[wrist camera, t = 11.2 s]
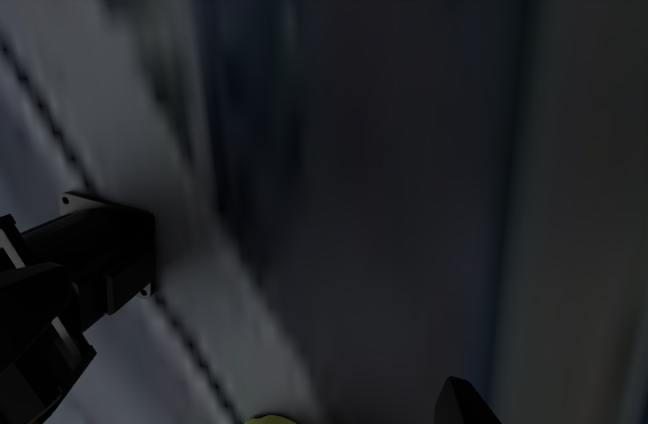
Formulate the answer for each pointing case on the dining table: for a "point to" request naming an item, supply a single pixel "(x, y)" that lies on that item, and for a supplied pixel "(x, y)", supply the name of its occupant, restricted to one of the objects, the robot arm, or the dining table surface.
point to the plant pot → (270, 420)
